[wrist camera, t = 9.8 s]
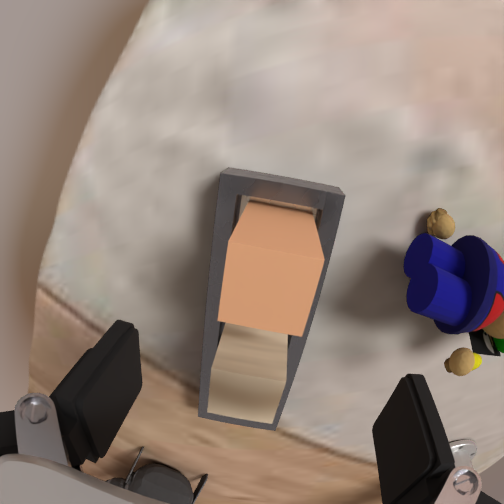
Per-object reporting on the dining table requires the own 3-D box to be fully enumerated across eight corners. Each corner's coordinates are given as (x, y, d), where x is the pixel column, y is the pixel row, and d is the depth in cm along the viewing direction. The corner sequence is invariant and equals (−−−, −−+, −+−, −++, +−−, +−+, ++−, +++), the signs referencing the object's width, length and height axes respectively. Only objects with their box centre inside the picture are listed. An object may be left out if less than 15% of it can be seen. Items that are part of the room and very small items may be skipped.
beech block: (277, 350, 26) (272, 423, 19) (226, 341, 27) (207, 412, 19) (288, 308, 25) (286, 381, 17) (232, 298, 25) (211, 368, 18)
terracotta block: (298, 269, 23) (301, 336, 16) (239, 258, 23) (217, 320, 16) (312, 212, 22) (324, 259, 14) (249, 200, 22) (228, 241, 14)
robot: (90, 503, 44) (100, 489, 29) (105, 469, 53) (126, 434, 38) (160, 534, 45) (212, 533, 31) (172, 499, 54) (227, 477, 40)
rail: (276, 411, 31) (275, 430, 29) (203, 398, 32) (198, 416, 29) (338, 187, 22) (345, 195, 19) (228, 167, 22) (220, 173, 20)
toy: (376, 378, 20) (508, 387, 20) (449, 350, 13) (578, 362, 12) (383, 240, 26) (500, 275, 26) (432, 174, 18) (554, 231, 18)
